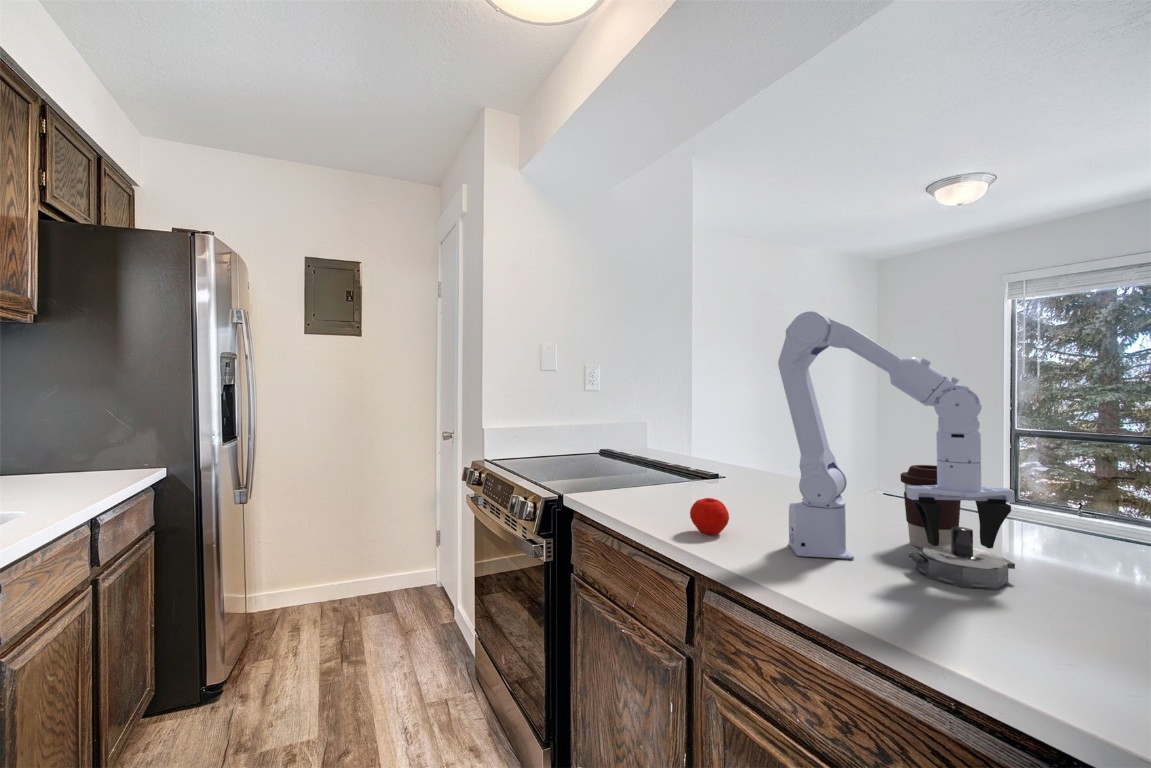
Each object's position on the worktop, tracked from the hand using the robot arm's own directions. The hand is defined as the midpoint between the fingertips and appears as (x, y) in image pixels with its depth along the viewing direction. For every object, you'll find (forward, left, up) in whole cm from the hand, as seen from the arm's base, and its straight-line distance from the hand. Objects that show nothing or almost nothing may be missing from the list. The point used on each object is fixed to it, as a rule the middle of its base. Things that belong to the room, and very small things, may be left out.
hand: (959, 545), depth 82 cm
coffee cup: (+3, +16, -5) cm, 17 cm away
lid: (0, -1, -3) cm, 3 cm away
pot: (0, 0, -5) cm, 5 cm away
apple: (-38, +18, -5) cm, 42 cm away
